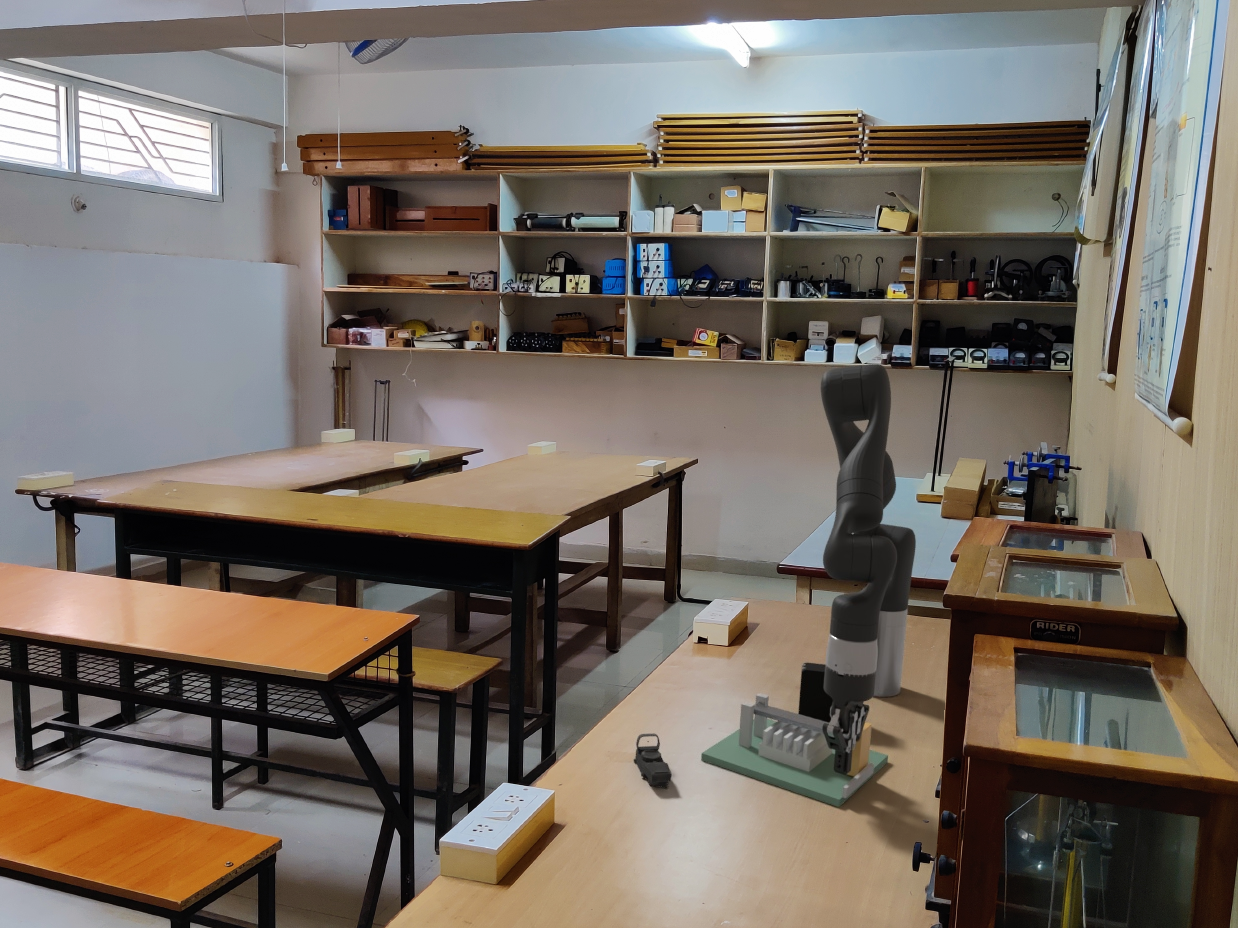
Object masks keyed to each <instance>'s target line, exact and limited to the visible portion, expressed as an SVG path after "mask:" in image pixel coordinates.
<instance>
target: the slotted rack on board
mask: <svg viewBox="0 0 1238 928" xmlns="http://www.w3.org/2000/svg"><path fill="white" fill-rule="evenodd" d="M769 696H770V695H767V694H763V693H761V692H759V693H757V694H756V695H755V702H754V704H756V703H757V702H761V703H762V704H764V705H768V706H769V698H770V697H769ZM754 704H753V703H749V702H746V701H744V702H742V703H741V704H740V716H739V717H740V718H739V728H738V729H737V730H736V731H734V732H732V733H730V734H728V735H727V736H726V737H724V738H723V739H721V740H720V741H718V742H717V743H715V744H713V745H712V746H710V747H709V748H707V749H706V750H704V751H702V752H701V758H700V760H701V761H703V762H706V763H709V764H712V765H715V766H718V767H721V768H723V769H727V770H729V771H732V772H734V773H738V774H741V775H744V776H747V777H750V778H752V779H756V780H758V781H762V782H764V783H767V784H770V785H773V786H776V787H778V788H782V789H785V790H788V791H790V792H792V793H796V794H799V795H803V796H805V797H808V798H811V799H814V800H817V801H819V802H823V803H825V804H829V805H831V806H833V807H834V806H835V807H837V808H840V807H841V806H842V805H843V804H845V802H847V800H849V799H850V797H852V796H853V795H855V793H856V792H857V791H858V790H859V789H860V788H862V786H863V785H865V784H866V783H867V782H868V781H869V780H870V779H871V778H873V776H874V775H875V774H876V773H877V772H879V771H880V770H881V769H882V768H883V767H884V766H885V765H886V764H887V763H888V761H889V760H888V759H889V755H888V754H886V753H882V752H878V751H876V750H872V749H870V751H869V762H868V765H867V766H866V767H865V768H864V769H863V770H862V771H861V772H859V773H858V774H857V775H856V776H855V777H854V776H851V775H848V774H846V775H843V774H840V773H836V772H835V771H834V759H835V750H834V749H830V748H829V747H828V744H827V742H826V739H825V736H824V734H822V733H819V732H815V731H812V730H808V729H805V728H801V727H798V726H794V725H791V724H787V723H784V722H781V721H777V720H774V719H770V718H767V717H763V716H760V715H756V714H754Z"/></svg>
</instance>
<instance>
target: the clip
mask: <svg viewBox="0 0 1238 928" xmlns="http://www.w3.org/2000/svg"><path fill="white" fill-rule="evenodd" d="M872 727H873V724H872V723H869V722H866V721H865V724H864V727H863V730H862V734H861V737H860V740H859V741H858V742H857V741H856V743H855V748H854V749H852V750H853V751H852V763H851V771H850V772H849V773H848V775H851V776H854V777H855V776H856V775H857V774H858V773H859V772H861V771H862V770H863V769H864V768H865V767H866V766H867V765H868V762H869V751H870V750H871V739H872V738H871V736H872Z"/></svg>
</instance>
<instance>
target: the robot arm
mask: <svg viewBox="0 0 1238 928" xmlns="http://www.w3.org/2000/svg"><path fill="white" fill-rule="evenodd" d="M820 396H821V397H820V398H821V401H822V406H823V410H824V413H825V417H826V419H827V422H828V425H829V428H830V431H831V435H832V438H833V441H834V444H835V445H834V446H835V448H836V452H837V458H838V464H839V471H838V474H837V478H836V479H837V480H836V503H835V504H836V505H835V507H836V508H835V517H834V522H833V526H832V529H831V532H830V534H829V537H828V540H827V541H826V544H825V547H824V551H823V557H822V564H823V567H824V571H825V573H827V575H828V576H829V577H830V578H832V579H833V580H837V581H847V582H857V583H867V585H866V586H865V587H863V588H862V589H861V590H859V591H855V592H851V593H850V592H849V593H844V594H839V595H837V596H836V597H835V598H833V601H832V604H831V610H830V611H831V612H830V613H831V614H830V625H829V635H828V640H827V645H826V653H825V654H826V655H825V663H824V664H825V676H824V691H825V692H826V693H827V694H828V695H829V696H831V698H832V699H833V703H832V706H831V708H830V717H831V721H830V723H829V724H827V723H824V724H823V727H822V730H823V733H824V736H825V739H826V742H827V744H828V747H829V748H830V749H834V750H835V759H834V771H835V772H836V773H840V774H843V775H846V774H848V773H849V772H850V771H851V763H852V751H853V750H852V749H854V748H855V743H856V741H857V742H858V741H859V740H860V737H861V734H862V730H863V727H864V724H865V722H866V720H867V718H868V714H869V712H870V705H868V704H865V703H864V702H868V701H870V700H871V699H873V698H874V697H881V698H884V697H885V698H886V697H887V698H888V697H894V696H897V695H899V694H900V693H901V686H902V685H901V684H902V674H903V664H904V656H905V643H906V642H905V641H906V631H907V621H908V609H909V598H910V591H911V584H912V582H911V581H912V575H913V567H914V562H915V556H916V555H915V554H916V548H917V545H916V543H917V541H916V534H915V532H914V530H913V529H912V528H909V527H904V526H898V525H897V526H896V525H892V524H886V523H882V521H883V517H884V509H886V507H887V506H888V505H889V504H890V502H892V500H893V498H894V496H895V494H896V490H897V481H896V475H895V468H894V464H893V460H892V458H891V456H890V455H889V453H888V451H887V444H888V442H887V441H888V435H889V428H890V427H889V425H890V420H891V419H890V417H891V409H892V408H891V407H892V390H891V381H890V376H889V373H888V371H887V369H886V368H885V366H884V365H882V364H878V363H873V364H872V363H871V364H870V363H868V364H859V365H850V366H843V367H842V366H841V367H836V368H831V369H828V370H826V371H825V372H824V373H823V375H822V377H821V380H820ZM861 421H868V422H867V426H866V428H865V430H864V431H863V430H862V429H860V428H859V426H857V425H856V424H855V423H856V422H861Z"/></svg>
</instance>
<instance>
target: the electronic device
mask: <svg viewBox="0 0 1238 928" xmlns="http://www.w3.org/2000/svg"><path fill="white" fill-rule="evenodd" d="M825 664H826V663H816V662H804V663H802V664H801V674H800V675H801V677H800V685H799V686H800V687H799V698H798V699H799V700H798V711H797V712H798V713H797V714H800V715H803V716H807V717H811V718H814V719H818V720H821V721H825V722H828V723H830V721H831V717H830V708H831V706H832V703H833V699H832V698H831V696H829V695H828V694H827V693H826V692H825V691H824V676H825Z"/></svg>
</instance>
